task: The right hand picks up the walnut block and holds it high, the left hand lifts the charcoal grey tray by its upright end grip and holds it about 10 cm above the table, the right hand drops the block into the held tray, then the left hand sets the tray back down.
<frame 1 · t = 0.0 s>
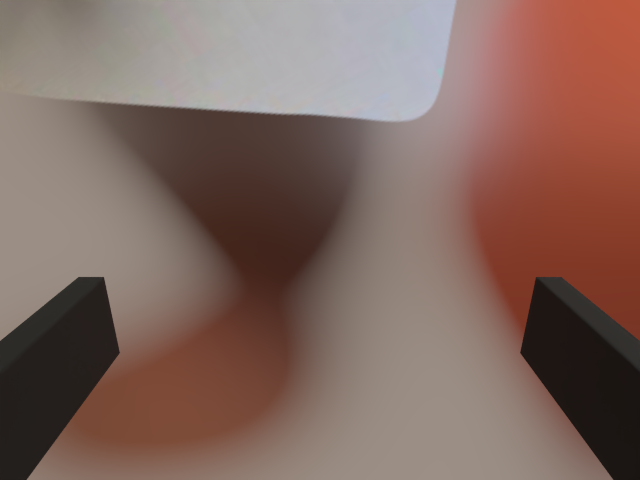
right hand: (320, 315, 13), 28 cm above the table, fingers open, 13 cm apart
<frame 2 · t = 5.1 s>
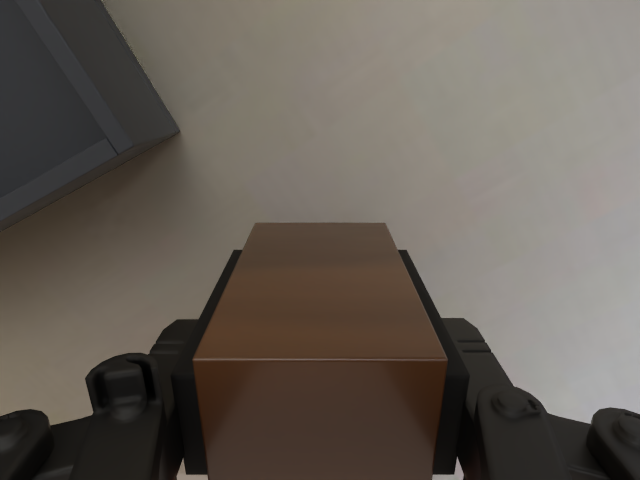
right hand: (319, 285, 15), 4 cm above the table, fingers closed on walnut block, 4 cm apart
walnut block: (320, 281, 15), point 4 cm above the table, touching right hand
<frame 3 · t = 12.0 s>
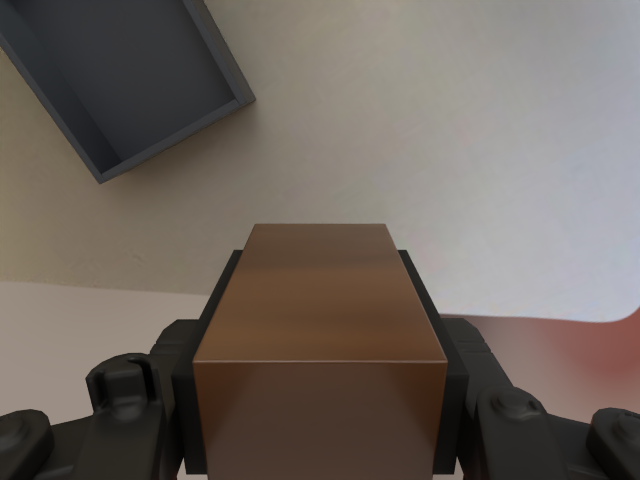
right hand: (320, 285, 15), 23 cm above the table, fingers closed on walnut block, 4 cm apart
walnut block: (320, 282, 15), point 22 cm above the table, touching right hand
grey tray: (127, 36, 32), on the table, touching left hand
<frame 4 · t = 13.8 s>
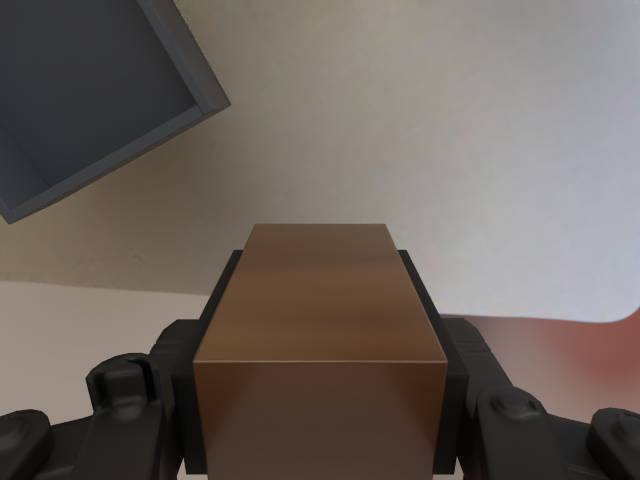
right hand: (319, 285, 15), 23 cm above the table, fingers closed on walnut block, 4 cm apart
walnut block: (320, 282, 15), point 22 cm above the table, touching right hand
grey tray: (49, 17, 23), point 10 cm above the table, touching left hand
when the right hand's fingers open (18 cm above the table, at t = 15.9 s): walnut block drops 7 cm, resting on grey tray.
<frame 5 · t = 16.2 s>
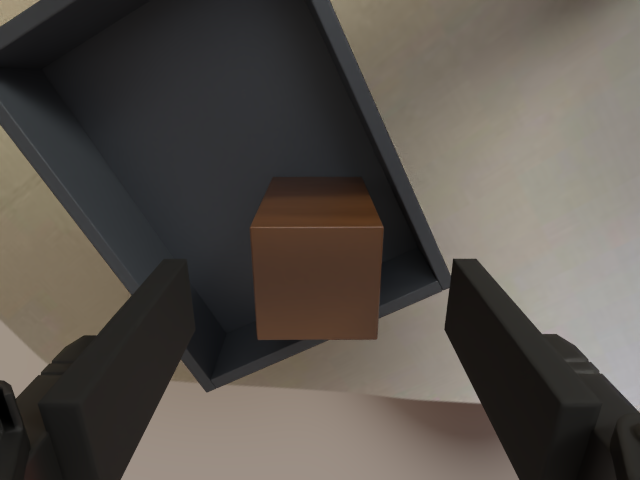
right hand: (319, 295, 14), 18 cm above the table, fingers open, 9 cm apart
walnut block: (317, 219, 22), point 10 cm above the table, touching grey tray
grey tray: (246, 162, 21), point 10 cm above the table, touching left hand, walnut block
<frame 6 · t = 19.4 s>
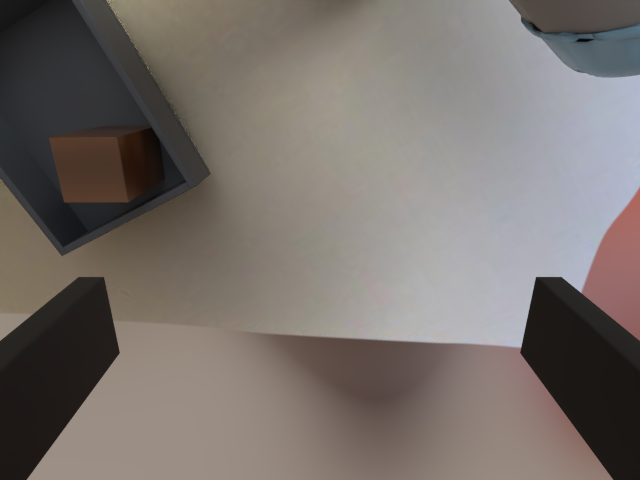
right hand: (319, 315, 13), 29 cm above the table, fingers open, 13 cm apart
walnut block: (135, 152, 35), point 4 cm above the table, touching grey tray
grey tray: (89, 117, 35), point 4 cm above the table, touching left hand, walnut block
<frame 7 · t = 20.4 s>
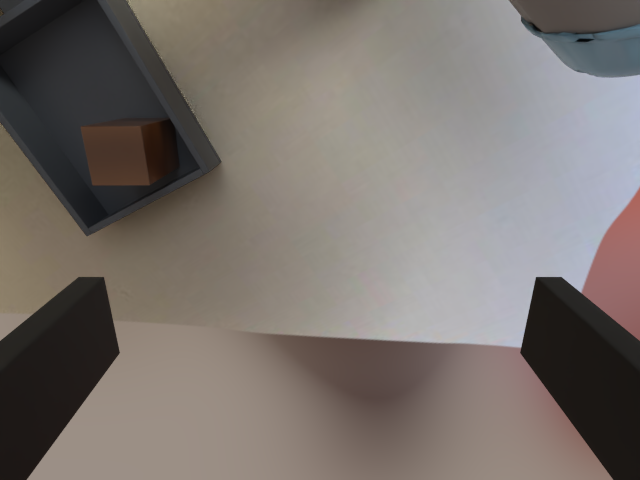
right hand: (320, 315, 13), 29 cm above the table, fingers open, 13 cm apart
walnut block: (152, 142, 39), point 1 cm above the table, touching grey tray
grey tray: (111, 110, 38), on the table, touching walnut block
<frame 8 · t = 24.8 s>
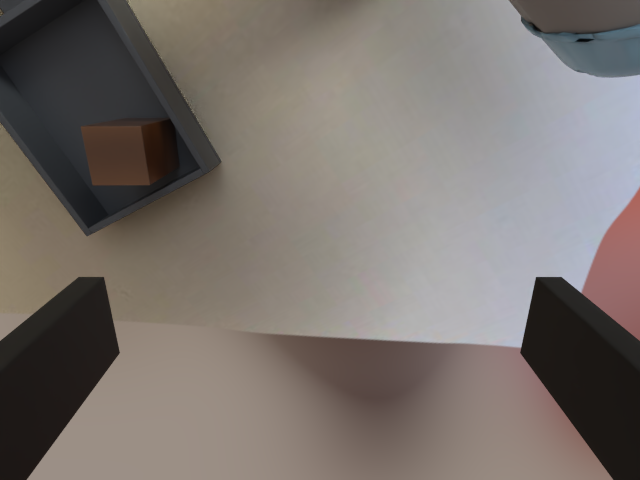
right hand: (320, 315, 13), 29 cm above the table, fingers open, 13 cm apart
walnut block: (152, 142, 39), point 1 cm above the table, touching grey tray
grey tray: (111, 110, 38), on the table, touching walnut block
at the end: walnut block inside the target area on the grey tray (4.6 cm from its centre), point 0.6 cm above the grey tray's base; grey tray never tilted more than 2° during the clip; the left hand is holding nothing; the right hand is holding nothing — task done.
